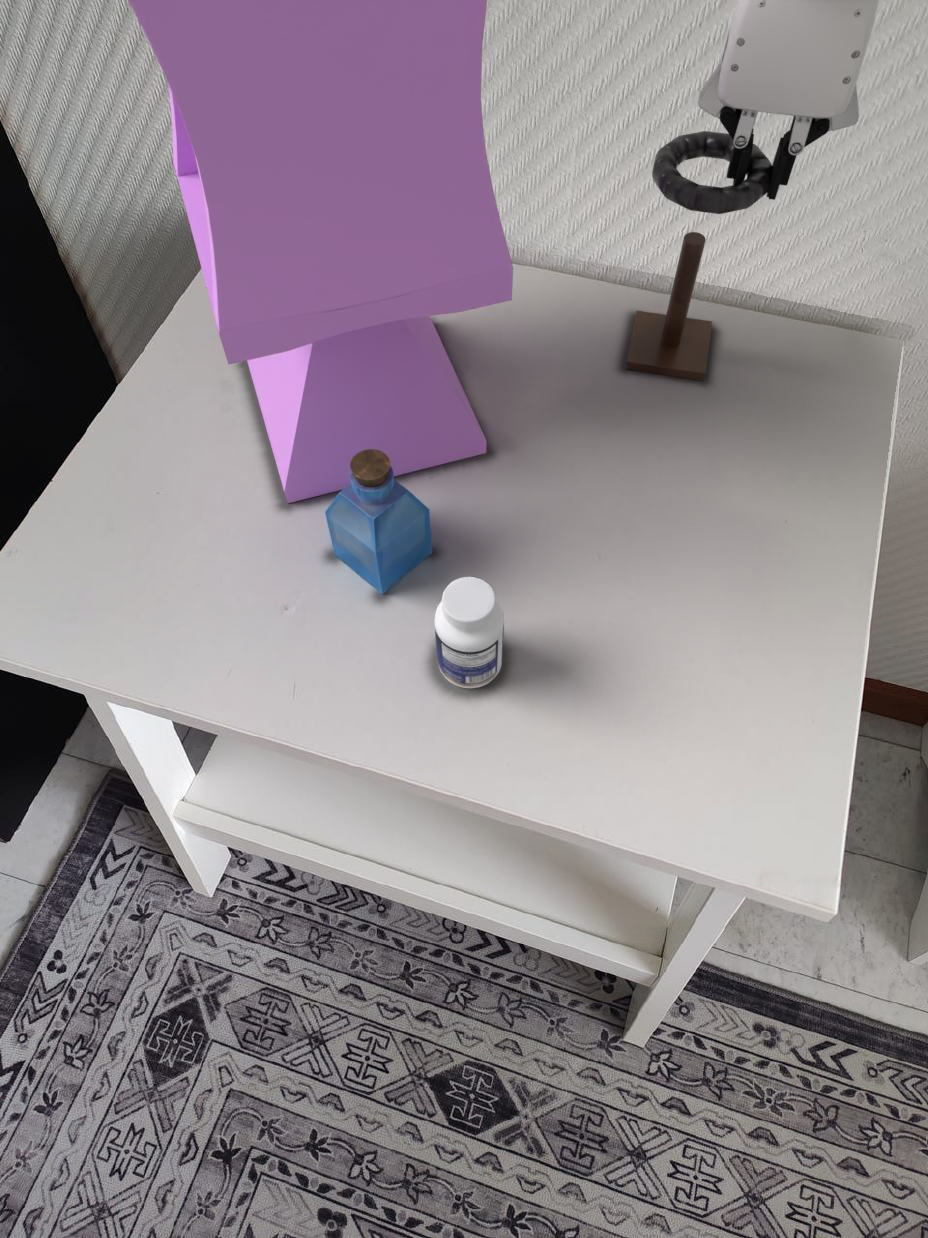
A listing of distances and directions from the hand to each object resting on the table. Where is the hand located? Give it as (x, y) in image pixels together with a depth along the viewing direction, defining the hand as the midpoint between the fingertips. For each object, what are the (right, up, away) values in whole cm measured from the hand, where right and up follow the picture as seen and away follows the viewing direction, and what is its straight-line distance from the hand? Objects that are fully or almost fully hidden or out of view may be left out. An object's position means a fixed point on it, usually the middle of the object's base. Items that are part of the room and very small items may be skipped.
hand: (754, 185), depth 76 cm
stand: (-4, -9, +16) cm, 19 cm away
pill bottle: (-25, -41, -3) cm, 48 cm away
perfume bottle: (-32, -32, +3) cm, 45 cm away
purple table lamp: (-35, -16, +13) cm, 41 cm away
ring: (-4, +1, 0) cm, 4 cm away
